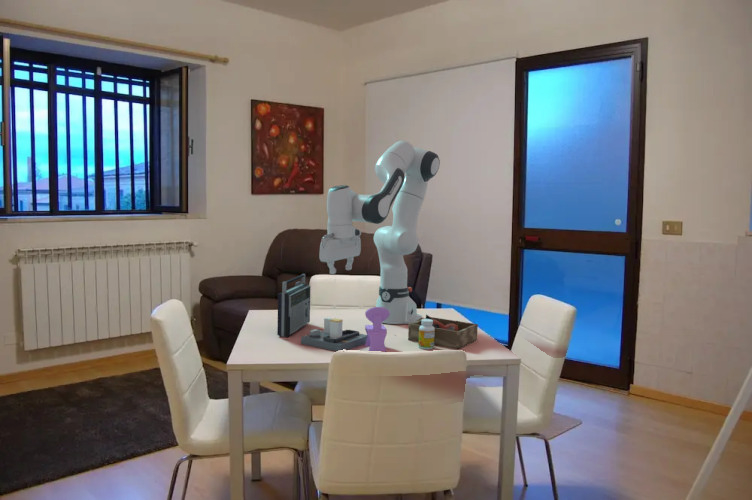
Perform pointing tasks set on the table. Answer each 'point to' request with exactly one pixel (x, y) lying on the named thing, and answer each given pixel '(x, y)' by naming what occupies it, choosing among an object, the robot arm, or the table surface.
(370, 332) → the toy chair
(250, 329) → the table surface
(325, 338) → the console
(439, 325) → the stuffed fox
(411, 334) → the wooden tray
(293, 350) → the table surface
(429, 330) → the supplement bottle
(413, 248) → the robot arm
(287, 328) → the radio
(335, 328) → the white cylinder
